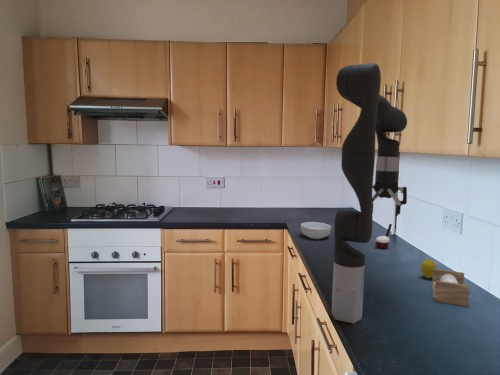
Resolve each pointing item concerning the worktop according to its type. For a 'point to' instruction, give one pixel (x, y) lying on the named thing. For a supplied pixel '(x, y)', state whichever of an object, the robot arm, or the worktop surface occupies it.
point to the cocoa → (383, 240)
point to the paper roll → (448, 278)
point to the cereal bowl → (315, 230)
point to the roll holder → (450, 288)
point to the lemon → (428, 268)
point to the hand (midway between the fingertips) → (384, 214)
